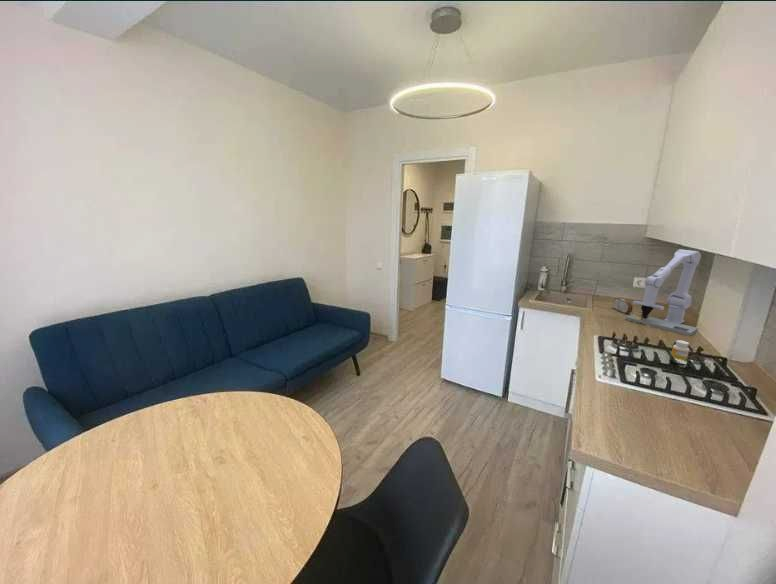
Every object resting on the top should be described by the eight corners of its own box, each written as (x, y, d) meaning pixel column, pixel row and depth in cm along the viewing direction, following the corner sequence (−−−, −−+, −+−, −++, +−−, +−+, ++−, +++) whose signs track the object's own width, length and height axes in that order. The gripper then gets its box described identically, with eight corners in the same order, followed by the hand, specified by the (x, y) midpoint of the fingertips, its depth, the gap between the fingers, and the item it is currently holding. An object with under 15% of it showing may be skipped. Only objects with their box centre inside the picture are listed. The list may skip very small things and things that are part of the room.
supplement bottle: (670, 358, 144) (675, 338, 142) (686, 362, 140) (692, 342, 138) (668, 361, 141) (673, 341, 138) (684, 366, 137) (690, 345, 134)
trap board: (634, 316, 204) (634, 313, 203) (697, 331, 180) (698, 328, 180) (625, 320, 196) (626, 317, 195) (690, 336, 172) (691, 332, 172)
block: (634, 316, 196) (636, 310, 195) (642, 318, 193) (644, 312, 192) (632, 317, 194) (633, 311, 193) (640, 319, 191) (641, 313, 190)
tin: (631, 315, 206) (634, 302, 204) (626, 315, 206) (629, 302, 204) (616, 308, 221) (618, 296, 219) (611, 308, 221) (613, 296, 219)
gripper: (632, 294, 191) (628, 316, 194) (663, 300, 179) (657, 323, 183) (637, 293, 195) (632, 314, 198) (667, 298, 183) (661, 321, 187)
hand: (644, 318), depth 191 cm, fingers closed
